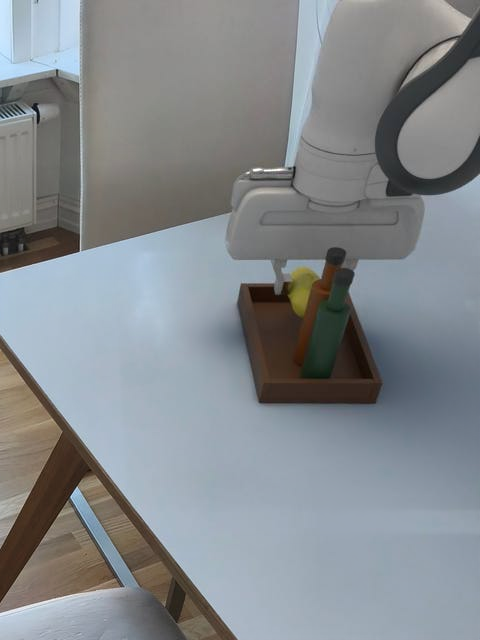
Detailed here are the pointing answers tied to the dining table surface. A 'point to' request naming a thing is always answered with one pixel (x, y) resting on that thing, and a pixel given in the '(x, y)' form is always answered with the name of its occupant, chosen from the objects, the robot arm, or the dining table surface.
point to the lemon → (301, 288)
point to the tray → (279, 346)
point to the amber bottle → (317, 300)
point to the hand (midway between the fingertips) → (305, 292)
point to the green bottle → (328, 329)
